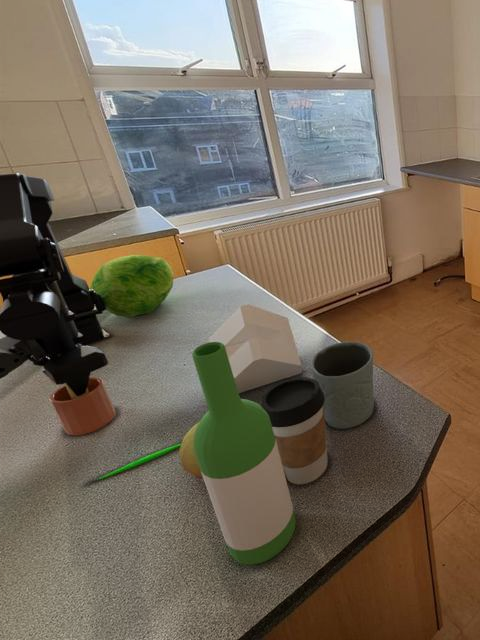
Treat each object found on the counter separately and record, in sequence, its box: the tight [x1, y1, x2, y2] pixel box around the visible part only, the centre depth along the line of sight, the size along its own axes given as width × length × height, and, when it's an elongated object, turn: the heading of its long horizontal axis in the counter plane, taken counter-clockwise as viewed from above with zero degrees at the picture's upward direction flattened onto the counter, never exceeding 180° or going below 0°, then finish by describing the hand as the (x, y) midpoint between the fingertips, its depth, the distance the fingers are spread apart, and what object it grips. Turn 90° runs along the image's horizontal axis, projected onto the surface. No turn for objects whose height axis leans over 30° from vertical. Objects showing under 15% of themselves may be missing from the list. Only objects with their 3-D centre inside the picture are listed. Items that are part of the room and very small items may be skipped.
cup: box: [49, 376, 116, 436], centre depth 74 cm, size 6×6×7 cm
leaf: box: [92, 442, 182, 483], centre depth 68 cm, size 1×14×1 cm, turn 131°
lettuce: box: [89, 254, 175, 318], centre depth 109 cm, size 15×23×16 cm
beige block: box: [208, 304, 303, 394], centre depth 84 cm, size 14×11×18 cm
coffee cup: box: [260, 377, 329, 485], centre depth 64 cm, size 8×8×15 cm
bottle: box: [191, 342, 297, 566], centre depth 51 cm, size 8×8×30 cm
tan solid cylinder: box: [63, 383, 89, 399], centre depth 72 cm, size 2×2×8 cm
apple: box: [178, 421, 203, 479], centre depth 66 cm, size 10×10×8 cm
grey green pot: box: [310, 341, 375, 430], centre depth 76 cm, size 10×10×12 cm
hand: (78, 391), depth 73 cm, fingers closed on tan solid cylinder, 2 cm apart
